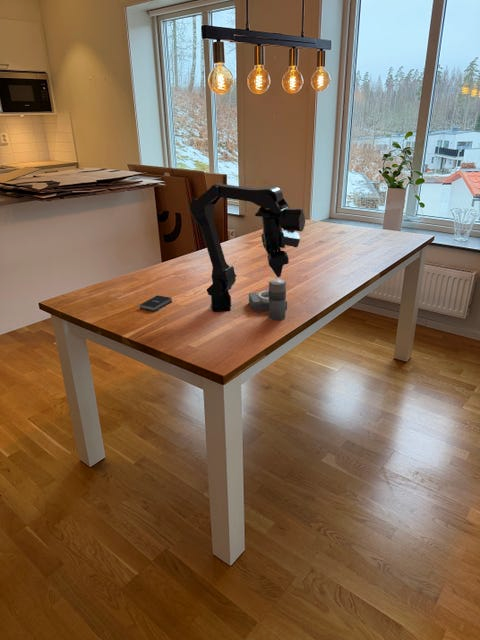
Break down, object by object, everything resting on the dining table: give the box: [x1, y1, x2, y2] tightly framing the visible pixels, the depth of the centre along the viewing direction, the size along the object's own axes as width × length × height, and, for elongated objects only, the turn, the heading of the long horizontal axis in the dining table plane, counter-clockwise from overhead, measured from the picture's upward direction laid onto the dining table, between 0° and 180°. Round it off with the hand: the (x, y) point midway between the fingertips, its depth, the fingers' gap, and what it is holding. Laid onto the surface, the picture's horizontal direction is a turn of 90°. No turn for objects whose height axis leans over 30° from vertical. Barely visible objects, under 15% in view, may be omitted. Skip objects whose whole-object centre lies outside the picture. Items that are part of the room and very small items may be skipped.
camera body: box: [248, 289, 288, 313], centre depth 160 cm, size 12×9×4 cm
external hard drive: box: [139, 294, 173, 313], centre depth 164 cm, size 7×11×2 cm, turn 152°
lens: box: [268, 278, 287, 321], centre depth 149 cm, size 6×6×13 cm
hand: (276, 269), depth 150 cm, fingers open, 9 cm apart
